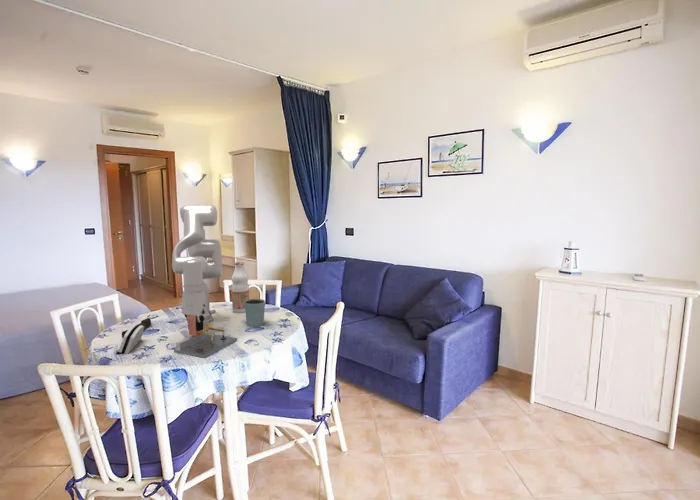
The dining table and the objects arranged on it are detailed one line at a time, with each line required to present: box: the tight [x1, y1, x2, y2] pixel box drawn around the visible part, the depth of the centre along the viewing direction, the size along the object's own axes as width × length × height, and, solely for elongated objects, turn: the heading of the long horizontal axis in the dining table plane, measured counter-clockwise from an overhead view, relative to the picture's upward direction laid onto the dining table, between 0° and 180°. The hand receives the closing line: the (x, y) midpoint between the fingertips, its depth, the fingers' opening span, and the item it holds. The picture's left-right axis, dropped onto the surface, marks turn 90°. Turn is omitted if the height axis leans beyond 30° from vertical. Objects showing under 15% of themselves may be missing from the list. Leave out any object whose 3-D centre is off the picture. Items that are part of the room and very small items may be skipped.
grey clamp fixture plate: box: [173, 322, 238, 359], centre depth 157 cm, size 20×16×7 cm
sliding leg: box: [187, 315, 214, 344], centre depth 158 cm, size 4×11×12 cm, turn 69°
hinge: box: [114, 323, 145, 355], centre depth 157 cm, size 17×5×10 cm, turn 13°
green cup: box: [244, 298, 266, 328], centre depth 186 cm, size 10×10×12 cm
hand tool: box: [121, 317, 152, 339], centre depth 176 cm, size 19×4×5 cm, turn 173°
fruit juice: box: [231, 261, 250, 314], centre depth 209 cm, size 9×9×28 cm
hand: (196, 329), depth 159 cm, fingers closed on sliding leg, 4 cm apart
